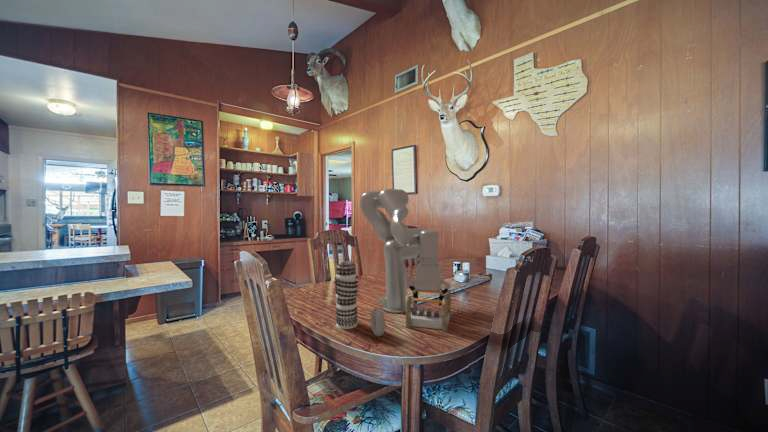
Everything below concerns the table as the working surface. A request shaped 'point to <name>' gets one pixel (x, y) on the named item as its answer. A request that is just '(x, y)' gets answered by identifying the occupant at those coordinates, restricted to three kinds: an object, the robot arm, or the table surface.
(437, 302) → the cord front
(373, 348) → the table surface
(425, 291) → the cord rear
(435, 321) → the breaker panel
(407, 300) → the cord posts
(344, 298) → the decorative candle
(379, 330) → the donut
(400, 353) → the table surface
